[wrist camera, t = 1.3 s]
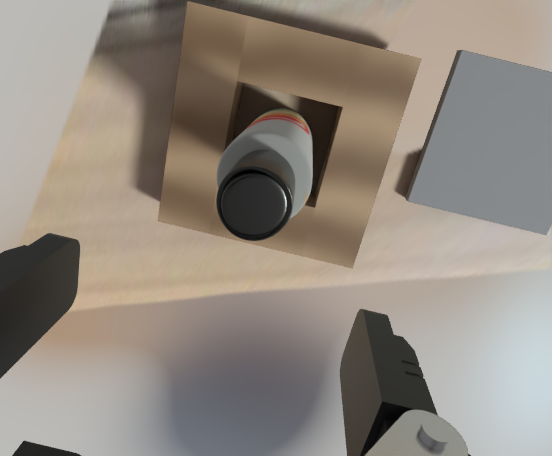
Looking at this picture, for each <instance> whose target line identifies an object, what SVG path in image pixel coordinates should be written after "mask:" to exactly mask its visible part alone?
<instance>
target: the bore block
mask: <svg viewBox="0 0 552 456" xmlns="http://www.w3.org/2000/svg"><path fill="white" fill-rule="evenodd" d="M420 62H421V58H417V57H413V56H409V55H404V54H400V53H396V52H392V51H388V50H384V49H380V48H376V47H372V46H368V45H364V44H360V43H356V42H352V41H348V40H344V39H340V38H336V37H331V36H327V35H323V34H319V33H315V32H311V31H307V30H303V29H299V28H295V27H291V26H287V25H283V24H279V23H275V22H271V21H267V20H263V19H259V18H254V17H250V16H246V15H242V14H238V13H234V12H230V11H226V10H222V9H218V8H214V7H210V6H206V5H202V4H198V3H194V2H190V1H187V7H186V15H185V22H184V29H183V37H182V44H181V52H180V59H179V67H178V74H177V81H176V89H175V96H174V104H173V111H172V119H171V126H170V133H169V141H168V148H167V156H166V163H165V171H164V178H163V186H162V193H161V200H160V208H159V215H158V221H159V222H163V223H167V224H171V225H175V226H180V227H184V228H188V229H192V230H196V231H200V232H204V233H208V234H213V235H217V236H221V237H225V238H229V239H233V240H237V241H242V242H246V243H250V244H254V245H258V246H262V247H266V248H270V249H275V250H279V251H283V252H287V253H291V254H295V255H299V256H303V257H308V258H312V259H316V260H320V261H324V262H328V263H332V264H337V265H341V266H345V267H349V268H353V265H354V262H355V259H356V256H357V253H358V250H359V247H360V244H361V241H362V238H363V235H364V232H365V229H366V226H367V223H368V220H369V217H370V214H371V211H372V208H373V204H374V201H375V198H376V195H377V192H378V189H379V186H380V183H381V180H382V177H383V174H384V171H385V168H386V165H387V162H388V159H389V156H390V153H391V150H392V147H393V144H394V141H395V138H396V135H397V132H398V129H399V126H400V123H401V120H402V117H403V114H404V110H405V107H406V104H407V101H408V98H409V95H410V92H411V89H412V86H413V83H414V80H415V77H416V74H417V71H418V68H419V65H420ZM243 83H247V84H251V85H255V86H259V87H263V88H267V89H271V90H275V91H280V92H284V93H288V94H292V95H296V96H300V97H304V98H308V99H312V100H316V101H320V102H324V103H328V104H333V105H337V106H339V108H338V112H337V115H336V119H335V123H334V126H333V130H332V134H331V137H330V141H329V145H328V148H327V152H326V156H325V159H324V163H323V167H322V170H321V174H320V178H319V181H318V185H317V189H316V192H315V195H313V194H310V195H309V197H308V199H307V201H306V203H305V205H304V206H303V207H302V209H301V210H300V211H299V212H298V213H297V214H296V215H294V216H293V217H292V218H290V219H289V221H288V222H287V224H286V225H285V226H284V227H283V229H282V230H280V231H279V232H278V233H277V234H275V235H274V236H272V237H270V238H267V239H264V240H260V241H248V240H244V239H241V238H238V237H236V236H235V235H233V234H232V233H231V232H229V231H228V230H227V229H226V227H225V226H224V225H223V223H222V221H221V220H220V217H219V215H218V211H217V205H216V198H217V192H218V186H217V169H218V164H219V161H220V159H221V157H222V155H223V153H224V151H225V150H226V149H227V147H228V146H229V145H230V144H231V143H232V141H233V136H234V131H235V126H236V120H237V115H238V110H239V105H240V99H241V94H242V89H243Z"/></svg>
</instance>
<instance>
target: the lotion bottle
mask: <svg viewBox="0 0 552 456" xmlns="http://www.w3.org/2000/svg"><path fill="white" fill-rule="evenodd" d="M312 178H313V155H312V134H311V130H310V128H309V126H308V124H307V122H306V121H305V120H304V118H303V117H302V116H300V115H299V114H298V113H296V112H294V111H292V110H289V109H285V108H276V109H272V110H269V111H266V112H265V113H263V114H262V115H260V116H259V117H258V118H257V119H256V120H255V121H253V122H252V123H251V124H250V125H249V126H248V127H247V128H246V129H245V130H244V131H243V132H242V133H241V134H240V135H239V136H238V137H237V138H236V139H235V140H234V141H233V142H232V143H231V144H230V145H229V146H228V147H227V149H226V150H225V151H224V153H223V155H222V157H221V159H220V161H219V164H218V169H217V186H218V192H217V198H216V205H217V211H218V215H219V217H220V220H221V221H222V223H223V225H224V226H225V227H226V229H227V230H228V231H229V232H231V233H232V234H233V235H235V236H236V237H238V238H241V239H244V240H248V241H260V240H264V239H267V238H270V237H272V236H274V235H275V234H277V233H278V232H279V231H280V230H282V229H283V227H284V226H285V225H286V224H287V222H288V221H289V219H290V218H292V217H293V216H294V215H296V214H297V213H298V212H299V211H300V210H301V209H302V207H303V206H304V205H305V203H306V201H307V199H308V197H309V195H310V192H311V187H312Z"/></svg>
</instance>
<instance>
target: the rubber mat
mask: <svg viewBox="0 0 552 456" xmlns="http://www.w3.org/2000/svg"><path fill="white" fill-rule="evenodd" d="M405 198H406V200H407V201H408V202H412V203H416V204H421V205H425V206H429V207H433V208H437V209H441V210H445V211H449V212H453V213H457V214H462V215H466V216H470V217H474V218H478V219H482V220H486V221H490V222H494V223H498V224H503V225H507V226H511V227H515V228H519V229H523V230H527V231H531V232H535V233H539V234H544V235H547V233H548V231H549V229H550V227H551V225H552V72H549V71H545V70H541V69H537V68H533V67H529V66H525V65H521V64H517V63H512V62H509V61H504V60H500V59H496V58H492V57H488V56H484V55H480V54H476V53H472V52H468V51H464V50H459V51H457V53H456V56H455V59H454V62H453V64H452V67H451V70H450V73H449V76H448V79H447V81H446V84H445V87H444V90H443V92H442V95H441V98H440V101H439V104H438V106H437V110H436V112H435V115H434V118H433V120H432V123H431V126H430V129H429V132H428V135H427V138H426V140H425V143H424V146H423V149H422V151H421V154H420V157H419V160H418V163H417V165H416V168H415V171H414V174H413V177H412V179H411V182H410V185H409V188H408V191H407V193H406V196H405Z"/></svg>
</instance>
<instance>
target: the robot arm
mask: <svg viewBox="0 0 552 456" xmlns="http://www.w3.org/2000/svg"><path fill="white" fill-rule="evenodd" d="M79 257H80V244H79V241H78V240H76V239H72V238H68V237H64V236H60V235H56V234H52V233H48V234H46V235H44V236H43V237H41V238H40V239H38V240H37V241H35V242H33V243H32V244H30V245H29V246H26V245H24V246H20V247H17V248H14V249H10V250H7V251H4V252H2V253H0V378H1V377H2V376H3V375H4V374H5V373H6V372H7V371H8V370H9V369H10V368H11V367H12V366H13V365H14V364H15V363H16V362H17V361H18V360H19V359H20V358H21V357H22V356H23V355H24V354H25V353H26V352H27V351H28V350H29V349H30V348H31V347H32V346H33V345H34V344H35V343H36V342H37V341H38V340H39V339H40V338H41V337H42V336H43V335H44V334H45V333H46V332H47V331H48V330H49V329H50V328H51V327H52V326H53V325H54V324H55V323H56V322H57V321H58V320H59V319H60V318H61V317H62V316H63V315H64V314H65V313H66V312H67V311H68V310H69V309H70V307H71V306H72V304H73V302H74V300H75V297H76V294H77V288H78V273H79ZM340 381H341V392H342V404H343V415H344V426H345V437H346V447H347V456H471V455H469V454H468V449H467V446H466V443H465V441H464V439H463V438H462V436H461V435H460V434H459V432H458V431H457V430H456V429H455V428H454V427H453V426H452V425H451V424H450V423H448V422H447V421H446V420H444V419H442V418H441V417H439V416H438V415H437V412H436V409H435V407H434V404H433V401H432V398H431V395H430V392H429V390H428V387H427V384H426V382H425V379H424V378H423V373H422V370H421V368H420V367H419V362H418V359H417V356H416V354H415V351H414V350H413V348H412V347H411V346H410V345H409V344H408V343H407V341H406V340H405V339H404V338H403V337H401V336H396V335H394V334H393V331H392V328H391V324H390V321H389V318H388V316H387V315H385V314H381V313H376V312H372V311H368V310H364V309H360V310H359V312H358V313H357V316H356V318H355V321H354V324H353V327H352V330H351V333H350V336H349V339H348V341H347V344H346V347H345V350H344V353H343V357H342V361H341V367H340ZM12 456H81V455H79V454H77V453H73V452H69V451H65V450H60V449H56V448H52V447H48V446H44V445H40V444H35V443H31V442H27V441H23V442H22V444H21V445H20V446H19V448H18V449H17V450H16V451H15V453H14V454H13V455H12Z"/></svg>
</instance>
